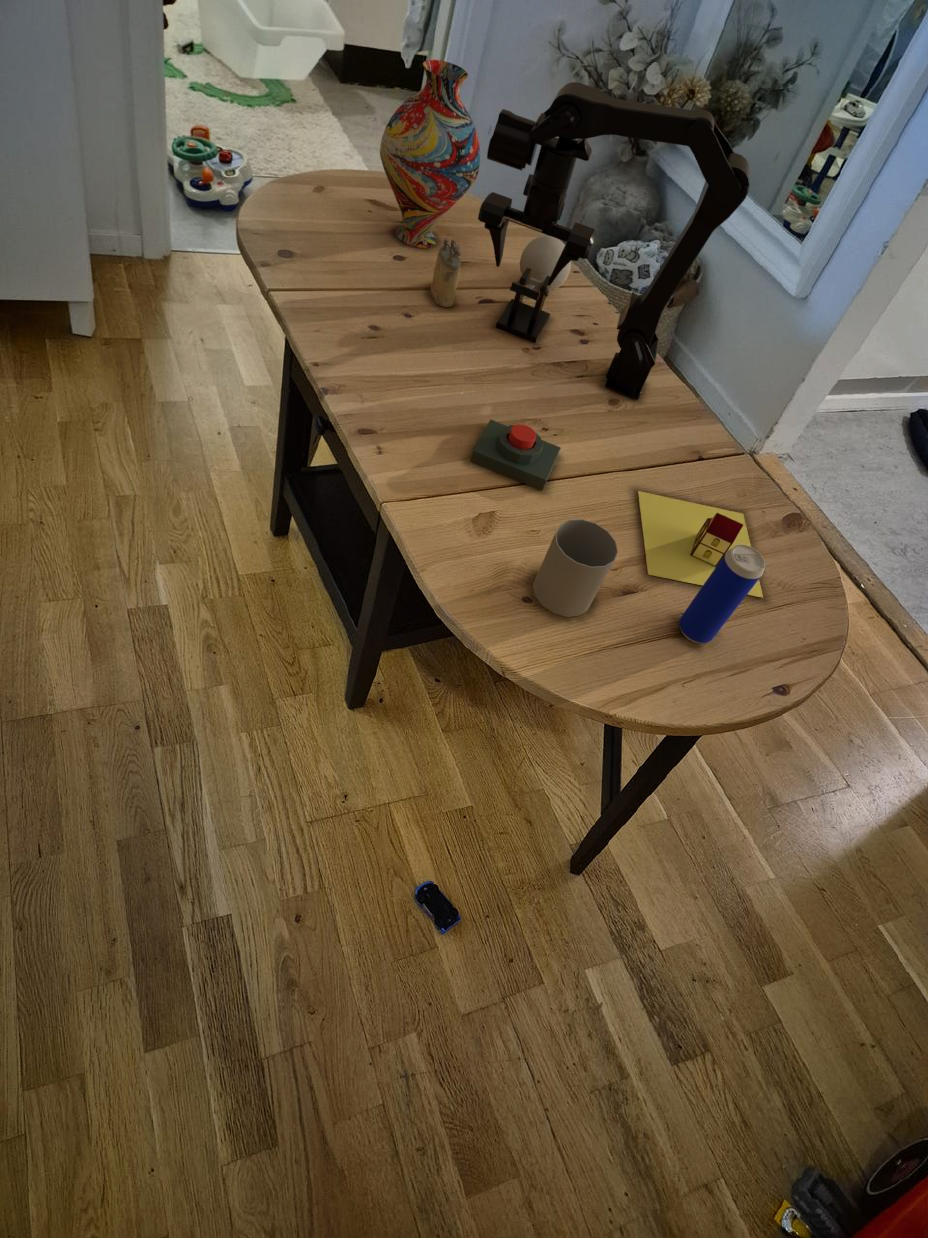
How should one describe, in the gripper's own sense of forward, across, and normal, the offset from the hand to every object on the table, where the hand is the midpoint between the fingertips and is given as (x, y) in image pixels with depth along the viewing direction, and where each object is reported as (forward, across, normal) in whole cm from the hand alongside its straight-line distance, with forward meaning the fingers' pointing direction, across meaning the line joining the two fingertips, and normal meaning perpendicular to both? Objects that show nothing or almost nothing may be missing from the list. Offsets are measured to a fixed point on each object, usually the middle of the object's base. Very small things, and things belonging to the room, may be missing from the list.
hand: (523, 275), depth 134 cm
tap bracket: (+13, -1, -9) cm, 16 cm away
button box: (+13, -10, +30) cm, 35 cm away
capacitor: (+13, +15, -8) cm, 21 cm away
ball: (+13, -1, -24) cm, 27 cm away
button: (+10, -10, +31) cm, 33 cm away
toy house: (+14, -41, +34) cm, 55 cm away
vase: (+13, +26, -26) cm, 39 cm away
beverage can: (+14, -42, +52) cm, 68 cm away
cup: (+14, -23, +54) cm, 60 cm away
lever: (+5, -1, -4) cm, 7 cm away
